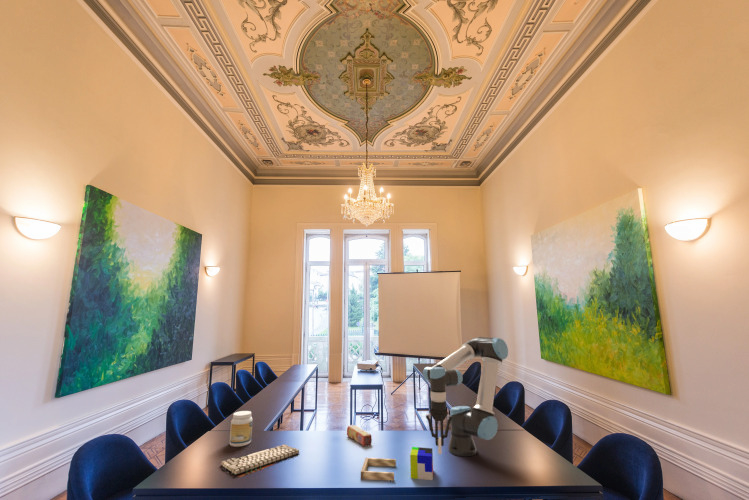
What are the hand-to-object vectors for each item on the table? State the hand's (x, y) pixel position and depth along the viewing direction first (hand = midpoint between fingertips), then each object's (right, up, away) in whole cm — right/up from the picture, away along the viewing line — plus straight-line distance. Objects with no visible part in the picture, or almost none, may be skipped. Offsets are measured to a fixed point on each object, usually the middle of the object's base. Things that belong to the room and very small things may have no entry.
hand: (439, 453), depth 160 cm
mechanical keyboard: (-91, -14, +15) cm, 93 cm away
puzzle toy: (-9, -10, -1) cm, 13 cm away
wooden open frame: (-28, -10, +2) cm, 30 cm away
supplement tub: (-112, -18, +39) cm, 120 cm away
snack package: (-41, -19, +43) cm, 62 cm away
